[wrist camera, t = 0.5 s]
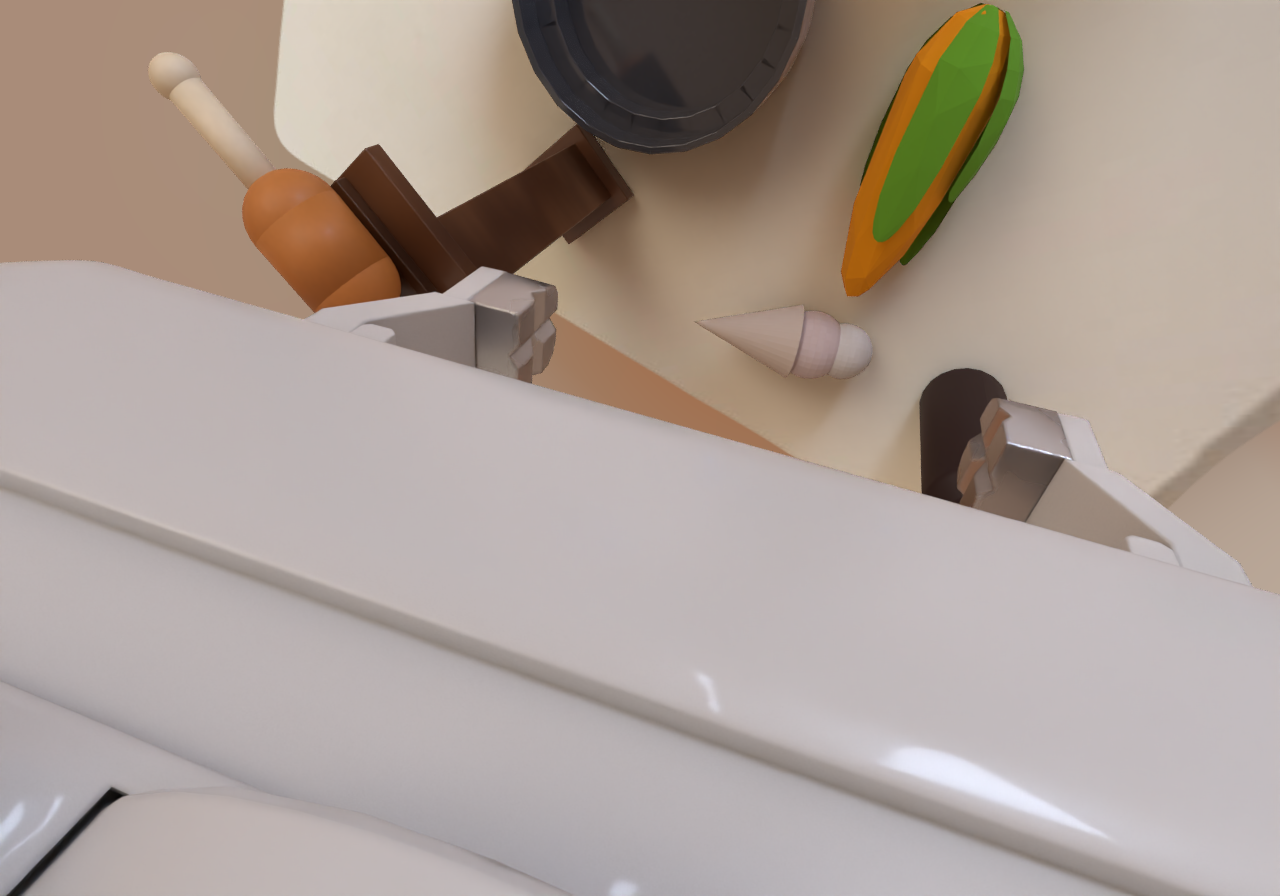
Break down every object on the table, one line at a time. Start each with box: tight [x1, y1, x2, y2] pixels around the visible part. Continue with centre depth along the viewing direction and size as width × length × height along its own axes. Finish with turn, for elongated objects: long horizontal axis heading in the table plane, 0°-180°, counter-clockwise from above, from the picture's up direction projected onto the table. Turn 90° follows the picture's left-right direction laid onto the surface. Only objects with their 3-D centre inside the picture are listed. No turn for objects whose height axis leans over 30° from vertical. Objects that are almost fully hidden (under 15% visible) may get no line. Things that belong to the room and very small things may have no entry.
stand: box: [330, 124, 633, 297], centre depth 49 cm, size 10×8×27 cm
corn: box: [841, 3, 1024, 296], centre depth 48 cm, size 7×8×20 cm
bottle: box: [920, 368, 1007, 504], centre depth 52 cm, size 7×7×20 cm
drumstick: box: [148, 52, 401, 313], centre depth 35 cm, size 15×5×5 cm, turn 38°
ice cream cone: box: [695, 305, 872, 379], centre depth 59 cm, size 6×6×15 cm
